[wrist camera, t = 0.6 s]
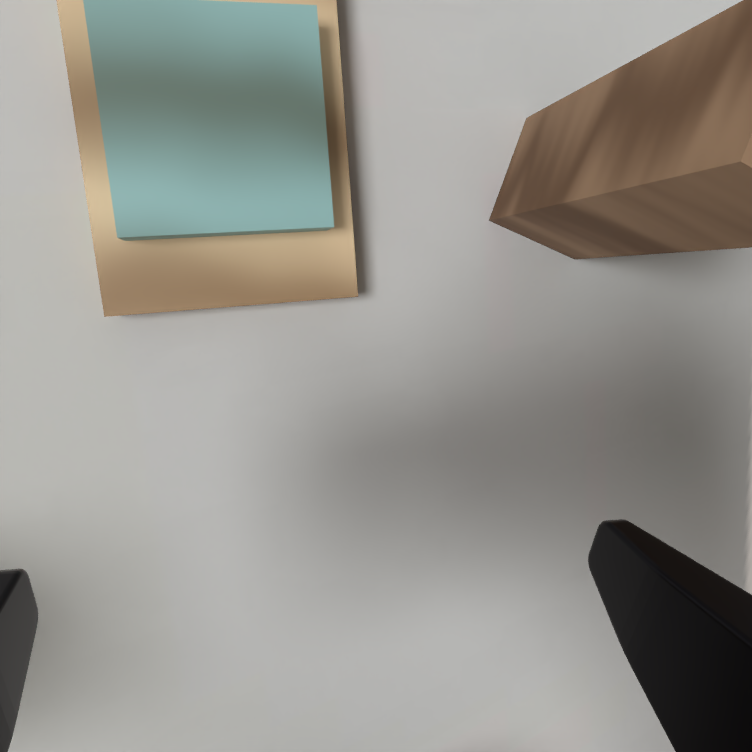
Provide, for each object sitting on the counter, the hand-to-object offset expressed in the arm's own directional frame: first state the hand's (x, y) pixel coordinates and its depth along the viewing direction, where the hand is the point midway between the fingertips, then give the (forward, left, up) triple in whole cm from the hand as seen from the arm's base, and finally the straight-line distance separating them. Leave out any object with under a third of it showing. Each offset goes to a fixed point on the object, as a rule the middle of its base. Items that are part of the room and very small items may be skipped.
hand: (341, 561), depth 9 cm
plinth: (+10, -1, -15) cm, 18 cm away
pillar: (+5, -14, -15) cm, 21 cm away
